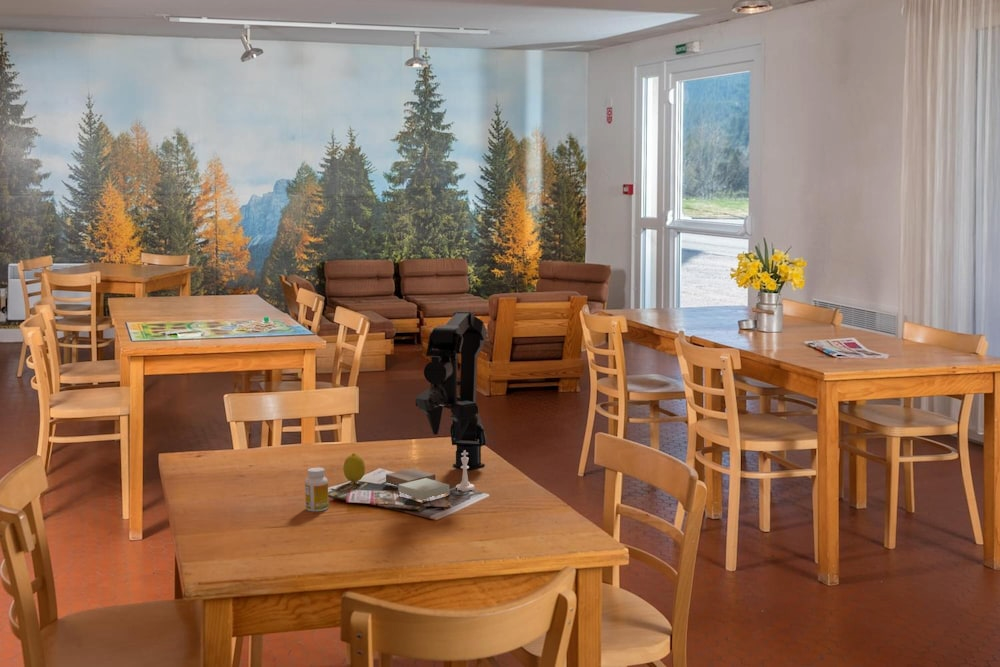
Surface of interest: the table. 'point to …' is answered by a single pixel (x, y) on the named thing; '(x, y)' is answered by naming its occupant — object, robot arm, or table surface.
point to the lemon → (354, 468)
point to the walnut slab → (408, 476)
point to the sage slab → (424, 488)
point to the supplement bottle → (316, 490)
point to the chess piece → (465, 474)
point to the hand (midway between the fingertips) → (446, 437)
